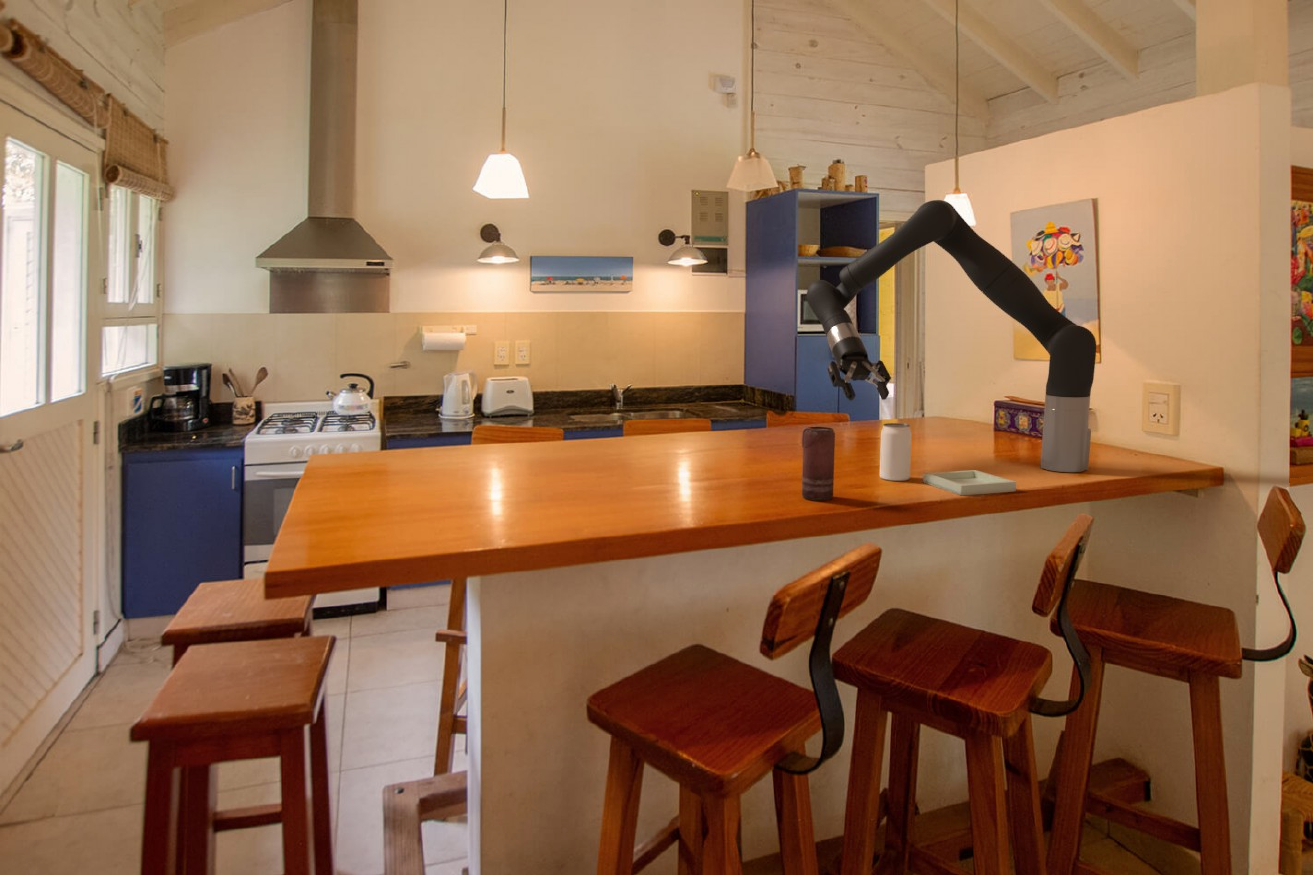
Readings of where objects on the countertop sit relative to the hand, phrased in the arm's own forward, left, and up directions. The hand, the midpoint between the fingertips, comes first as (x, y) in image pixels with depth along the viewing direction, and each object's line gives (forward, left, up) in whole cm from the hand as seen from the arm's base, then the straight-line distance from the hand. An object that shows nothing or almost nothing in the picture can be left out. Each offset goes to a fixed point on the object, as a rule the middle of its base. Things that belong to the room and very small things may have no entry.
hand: (869, 398), depth 188 cm
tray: (-10, +24, -17) cm, 31 cm away
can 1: (+25, +24, -17) cm, 38 cm away
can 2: (0, +12, -17) cm, 21 cm away
